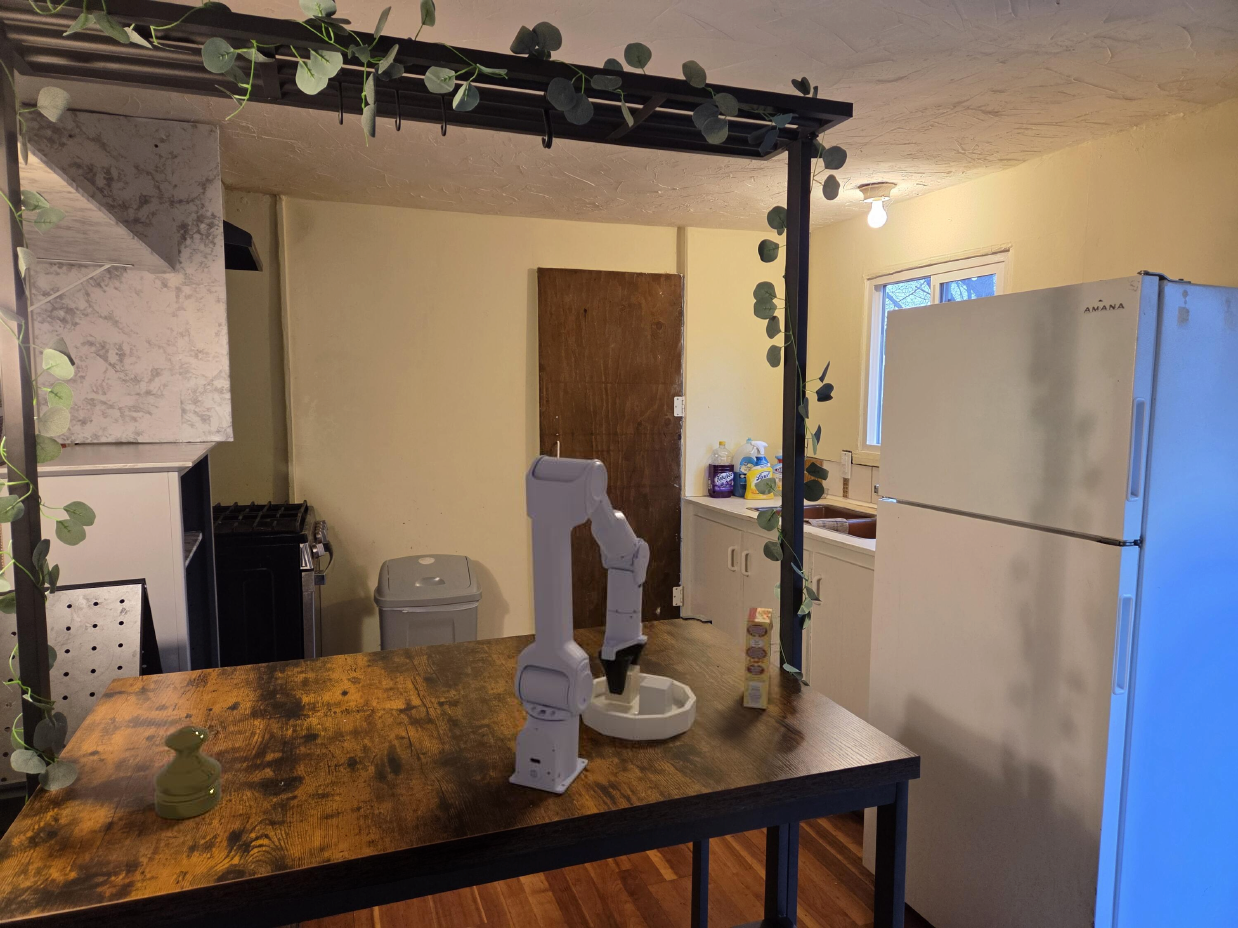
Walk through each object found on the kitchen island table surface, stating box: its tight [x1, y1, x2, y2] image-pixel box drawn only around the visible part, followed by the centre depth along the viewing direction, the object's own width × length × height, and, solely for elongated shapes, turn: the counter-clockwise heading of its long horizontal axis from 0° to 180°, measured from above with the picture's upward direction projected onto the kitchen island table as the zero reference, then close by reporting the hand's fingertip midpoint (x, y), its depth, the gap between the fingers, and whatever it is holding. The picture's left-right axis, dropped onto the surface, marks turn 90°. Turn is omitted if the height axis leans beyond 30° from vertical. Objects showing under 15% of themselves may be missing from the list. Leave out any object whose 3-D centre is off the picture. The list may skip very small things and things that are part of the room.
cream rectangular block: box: [605, 664, 641, 704], centre depth 130 cm, size 4×4×5 cm
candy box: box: [743, 607, 773, 710], centre depth 137 cm, size 9×4×15 cm, turn 167°
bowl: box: [580, 672, 697, 741], centre depth 130 cm, size 18×18×4 cm
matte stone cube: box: [639, 676, 674, 715], centre depth 128 cm, size 4×4×5 cm
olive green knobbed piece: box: [153, 725, 223, 820], centre depth 98 cm, size 7×7×10 cm
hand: (621, 688), depth 130 cm, fingers closed on cream rectangular block, 4 cm apart
